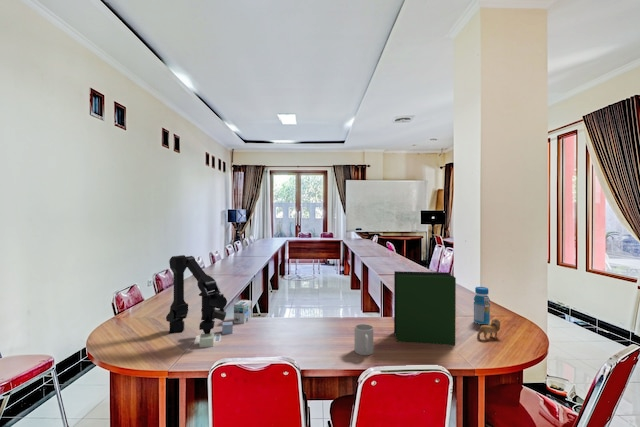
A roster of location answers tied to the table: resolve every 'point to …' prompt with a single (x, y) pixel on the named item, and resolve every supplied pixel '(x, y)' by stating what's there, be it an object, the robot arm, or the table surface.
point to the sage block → (207, 340)
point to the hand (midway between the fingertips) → (208, 337)
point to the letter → (216, 338)
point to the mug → (363, 339)
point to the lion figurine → (489, 329)
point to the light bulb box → (242, 311)
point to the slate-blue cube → (227, 328)
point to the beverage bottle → (481, 306)
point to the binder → (424, 307)
